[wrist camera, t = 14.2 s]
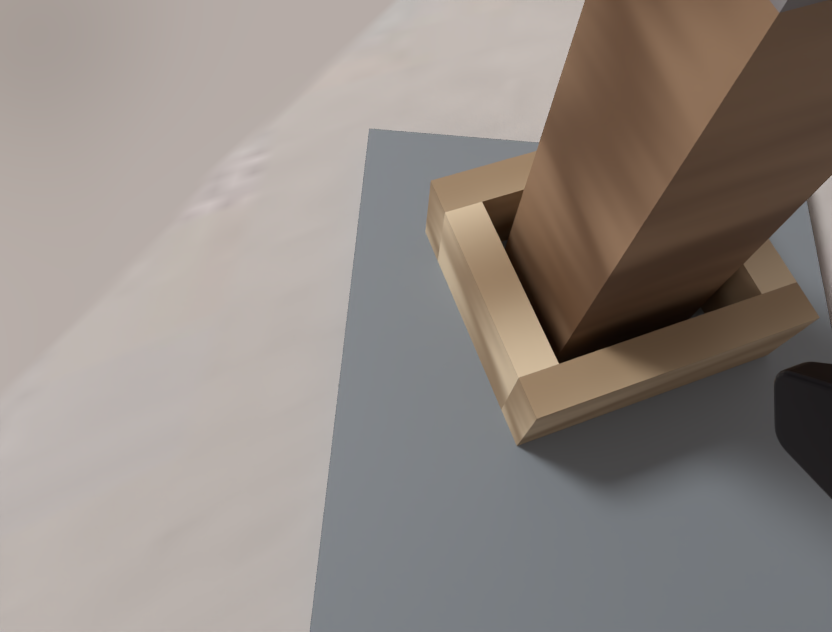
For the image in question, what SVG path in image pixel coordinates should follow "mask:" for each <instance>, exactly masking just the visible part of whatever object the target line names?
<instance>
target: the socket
mask: <svg viewBox="0 0 832 632" xmlns="http://www.w3.org/2000/svg"><path fill="white" fill-rule="evenodd" d="M535 154H536V151H534V152H531V153H527V154H524V155H520V156H516V157H513V158H509V159H506V160H502V161H499V162H495V163H492V164H488V165H485V166H481V167H477V168H474V169H470V170H467V171H463V172H460V173H456V174H453V175H449V176H445V177H442V178H438V179H435V180H431V183H430V193H429V202H428V211H427V220H426V230H425V232H426V235H427V237H428V239H429V242H430V244H431V246H432V249H433V251H434V253H435V256H436V258H437V260H438V263H439V265H440V267H441V270H442V272H443V274H444V277H445V279H446V281H447V284H448V286H449V289H450V291H451V293H452V296H453V298H454V300H455V303H456V305H457V307H458V310H459V312H460V314H461V317H462V319H463V321H464V324H465V326H466V328H467V331H468V333H469V335H470V338H471V340H472V342H473V345H474V347H475V349H476V352H477V354H478V356H479V359H480V361H481V363H482V366H483V368H484V370H485V373H486V375H487V377H488V380H489V382H490V384H491V387H492V389H493V392H494V394H495V396H496V399H497V401H498V403H499V406H500V408H501V410H502V413H503V415H504V417H505V420H506V422H507V424H508V427H509V429H510V431H511V434H512V436H513V438H514V441H515V443H516V445H517V446H518V445H521V444H524V443H526V442H529V441H532V440H535V439H537V438H540V437H543V436H546V435H549V434H551V433H554V432H557V431H560V430H562V429H565V428H568V427H571V426H573V425H576V424H579V423H582V422H584V421H587V420H590V419H593V418H595V417H598V416H601V415H604V414H606V413H609V412H612V411H615V410H617V409H620V408H623V407H626V406H628V405H631V404H634V403H637V402H639V401H642V400H645V399H648V398H650V397H653V396H656V395H659V394H661V393H664V392H667V391H670V390H672V389H675V388H678V387H681V386H683V385H686V384H689V383H692V382H694V381H697V380H700V379H703V378H706V377H708V376H711V375H714V374H717V373H719V372H722V371H725V370H728V369H730V368H733V367H736V366H739V365H741V364H744V363H747V362H750V361H752V360H755V359H758V358H761V357H763V356H766V355H768V354H769V353H771V352H772V351H774V350H775V349H776V348H778V347H779V346H781V345H782V344H783V343H785V342H786V341H788V340H789V339H790V338H792V337H793V336H795V335H796V334H798V333H799V332H800V331H802V330H803V329H805V328H806V327H807V326H809V325H810V324H812V323H813V322H814V321H816V320H817V319H819V318H820V317H819V315H818V314H817V312H816V311H815V309H814V308H813V306H812V305H811V303H810V302H809V300H808V298H807V297H806V295H805V294H804V292H803V291H802V289H801V288H800V286H799V285H798V283H797V281H796V280H795V278H794V277H793V275H792V274H791V272H790V271H789V269H788V268H787V266H786V264H785V263H784V261H783V260H782V258H781V257H780V255H779V254H778V252H777V251H776V249H775V247H774V246H773V244H772V243H771V241H770V240H769V239H768V240H767V241H766V242H765V243H764V244H763V245H762V246H761V247H760V248H759V249H758V250H757V251H756V252H755V253H754V254H753V255H752V256H751V257H750V258H749V259H748V260H747V261H746V262H745V263H744V264H743V265H742V266H741V267H740V268H739V269H738V270H737V271H736V272H735V273H734V274H733V275H732V276H731V277H730V278H729V279H728V280H727V281H726V282H725V283H724V284H723V285H722V286H721V287H720V288H719V289H718V290H717V291H716V292H715V293H714V294H713V295H712V296H711V297H710V298H709V299H708V300H707V301H706V302H705V303H704V304H703V305H702V306H701V308H702V310H703V312H704V313H705V314H703V315H700V316H697V317H694V318H691V319H688V320H685V321H682V322H679V323H676V324H674V325H671V326H668V327H665V328H662V329H659V330H656V331H653V332H650V333H647V334H644V335H642V336H639V337H636V338H633V339H630V340H627V341H624V342H621V343H618V344H615V345H612V346H610V347H607V348H604V349H601V350H598V351H595V352H592V353H589V354H586V355H583V356H581V357H578V358H575V359H572V360H569V361H566V362H563V363H560V364H559V363H558V361H557V359H556V357H555V355H554V353H553V350H552V348H551V346H550V344H549V342H548V340H547V338H546V336H545V334H544V331H543V329H542V327H541V325H540V323H539V321H538V319H537V317H536V315H535V312H534V310H533V308H532V306H531V304H530V302H529V300H528V298H527V295H526V293H525V291H524V289H523V287H522V285H521V283H520V281H519V279H518V276H517V274H516V272H515V270H514V268H513V266H512V264H511V262H510V260H509V257H508V255H507V253H506V251H505V249H504V247H503V245H502V243H501V241H505V240H508V238H509V235H510V232H511V229H512V225H513V222H514V219H515V216H516V213H517V210H518V207H519V204H520V201H521V198H522V194H523V191H524V188H525V185H526V182H527V179H528V176H529V173H530V170H531V167H532V164H533V160H534V157H535Z"/></svg>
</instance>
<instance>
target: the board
mask: <svg viewBox="0 0 832 632" xmlns="http://www.w3.org/2000/svg"><path fill="white" fill-rule="evenodd" d="M538 145H539V143H538V142H525V141H513V140H501V139H489V138H477V137H465V136H453V135H441V134H429V133H416V132H404V131H392V130H380V129H369V135H368V143H367V152H366V160H365V169H364V177H363V186H362V194H361V203H360V211H359V219H358V228H357V236H356V245H355V253H354V262H353V270H352V279H351V287H350V296H349V304H348V312H347V321H346V329H345V338H344V346H343V355H342V363H341V372H340V380H339V389H338V397H337V405H336V414H335V422H334V431H333V439H332V448H331V456H330V465H329V473H328V481H327V490H326V498H325V507H324V515H323V524H322V532H321V541H320V549H319V558H318V566H317V574H316V583H315V591H314V600H313V608H312V617H311V625H310V632H832V499H831V498H830V497H829V496H828V495H827V494H826V493H825V492H824V491H823V490H822V489H821V488H820V487H819V486H818V485H817V484H816V482H815V481H814V480H813V479H812V478H811V477H810V476H809V475H808V474H807V473H806V472H805V471H804V470H803V469H802V468H801V467H800V466H799V465H798V464H797V463H796V461H795V460H794V459H793V458H792V457H791V456H790V455H789V454H788V453H787V452H786V451H785V450H784V449H783V447H782V446H781V444H780V443H779V441H778V439H777V436H776V433H775V427H774V380H775V377H776V375H777V374H778V373H779V372H780V371H782V370H784V369H787V368H790V367H792V366H795V365H798V364H801V363H803V362H809V361H813V362H822V363H830V364H832V328H831V323H830V318H829V313H828V308H827V302H826V297H825V292H824V287H823V282H822V277H821V272H820V267H819V261H818V256H817V251H816V246H815V241H814V236H813V231H812V226H811V220H810V215H809V210H808V205H807V200H806V201H805V202H804V203H803V204H802V205H801V206H800V207H799V208H798V209H797V210H796V211H795V212H794V213H793V214H792V216H791V217H790V218H789V219H788V220H787V221H786V222H785V223H784V224H783V225H782V226H781V227H780V228H779V229H778V230H777V231H776V232H775V233H774V234H773V235H772V236H771V237H770V238H769V240H770V241H771V243H772V244H773V246H774V247H775V249H776V251H777V252H778V254H779V255H780V257H781V258H782V260H783V261H784V263H785V264H786V266H787V268H788V269H789V271H790V272H791V274H792V275H793V277H794V278H795V280H796V281H797V283H798V285H799V286H800V288H801V289H802V291H803V292H804V294H805V295H806V297H807V298H808V300H809V302H810V303H811V305H812V306H813V308H814V309H815V311H816V312H817V314H818V315H819V317H820V318H819V319H817V320H816V321H814V322H813V323H812V324H810V325H809V326H807V327H806V328H805V329H803V330H802V331H800V332H799V333H798V334H796V335H795V336H793V337H792V338H790V339H789V340H788V341H786V342H785V343H783V344H782V345H781V346H779V347H778V348H776V349H775V350H774V351H772V352H771V353H769V354H768V355H766V356H763V357H761V358H758V359H755V360H752V361H750V362H747V363H744V364H741V365H739V366H736V367H733V368H730V369H728V370H725V371H722V372H719V373H717V374H714V375H711V376H708V377H706V378H703V379H700V380H697V381H694V382H692V383H689V384H686V385H683V386H681V387H678V388H675V389H672V390H670V391H667V392H664V393H661V394H659V395H656V396H653V397H650V398H648V399H645V400H642V401H639V402H637V403H634V404H631V405H628V406H626V407H623V408H620V409H617V410H615V411H612V412H609V413H606V414H604V415H601V416H598V417H595V418H593V419H590V420H587V421H584V422H582V423H579V424H576V425H573V426H571V427H568V428H565V429H562V430H560V431H557V432H554V433H551V434H549V435H546V436H543V437H540V438H537V439H535V440H532V441H529V442H526V443H524V444H521V445H518V446H517V445H516V443H515V441H514V438H513V436H512V434H511V431H510V429H509V427H508V424H507V422H506V420H505V417H504V415H503V413H502V410H501V408H500V406H499V403H498V401H497V399H496V396H495V394H494V392H493V389H492V387H491V384H490V382H489V380H488V377H487V375H486V373H485V370H484V368H483V366H482V363H481V361H480V359H479V356H478V354H477V352H476V349H475V347H474V345H473V342H472V340H471V338H470V335H469V333H468V331H467V328H466V326H465V324H464V321H463V319H462V317H461V314H460V312H459V310H458V307H457V305H456V303H455V300H454V298H453V296H452V293H451V291H450V289H449V286H448V284H447V281H446V279H445V277H444V274H443V272H442V270H441V267H440V265H439V263H438V260H437V258H436V256H435V253H434V251H433V249H432V246H431V244H430V242H429V239H428V237H427V235H426V232H425V230H426V220H427V211H428V202H429V193H430V183H431V180H435V179H438V178H442V177H445V176H449V175H453V174H456V173H460V172H463V171H467V170H470V169H474V168H477V167H481V166H485V165H488V164H492V163H495V162H499V161H502V160H506V159H509V158H513V157H516V156H520V155H524V154H527V153H531V152H534V151H537V148H538ZM507 241H508V240H505V241H501V243H502V245H503V247H504V249H505V247H506V244H507ZM703 314H705V313H704V312H703V310H702V308H701V307H700V308H699V309H698V310H697V311H696V312H695V313H694V314H693V315H692V316H691V317H690V318H689V319H691V318H694V317H697V316H700V315H703Z"/></svg>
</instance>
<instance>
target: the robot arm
mask: <svg viewBox="0 0 832 632" xmlns="http://www.w3.org/2000/svg"><path fill="white" fill-rule="evenodd" d="M774 427H775V433H776V436H777V439H778V441H779V443H780V444H781V446H782V447H783V449H784V450H785V451H786V452H787V453H788V454H789V455H790V456H791V457H792V458H793V459H794V460H795V461H796V463H797V464H798V465H799V466H800V467H801V468H802V469H803V470H804V471H805V472H806V473H807V474H808V475H809V476H810V477H811V478H812V479H813V480H814V481H815V482H816V484H817V485H818V486H819V487H820V488H821V489H822V490H823V491H824V492H825V493H826V494H827V495H828V496H829V497H830V498H831V499H832V364H830V363H822V362H813V361H809V362H803V363H801V364H798V365H795V366H792V367H790V368H787V369H784V370H782V371H780V372H779V373H778V374H777V375H776V377H775V380H774Z"/></svg>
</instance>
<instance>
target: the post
mask: <svg viewBox="0 0 832 632" xmlns="http://www.w3.org/2000/svg"><path fill="white" fill-rule="evenodd" d="M831 175H832V0H585V3H584V6H583V9H582V12H581V15H580V18H579V21H578V24H577V27H576V30H575V33H574V37H573V40H572V43H571V46H570V49H569V52H568V55H567V58H566V61H565V64H564V68H563V71H562V74H561V77H560V80H559V83H558V86H557V89H556V92H555V95H554V99H553V102H552V105H551V108H550V111H549V114H548V117H547V120H546V123H545V126H544V129H543V133H542V136H541V139H540V142H539V145H538V148H537V151H536V154H535V157H534V160H533V164H532V167H531V170H530V173H529V176H528V179H527V182H526V185H525V188H524V191H523V194H522V198H521V201H520V204H519V207H518V210H517V213H516V216H515V219H514V222H513V225H512V229H511V232H510V235H509V238H508V241H507V244H506V247H505V251H506V253H507V255H508V257H509V260H510V262H511V264H512V266H513V268H514V270H515V272H516V274H517V276H518V279H519V281H520V283H521V285H522V287H523V289H524V291H525V293H526V295H527V298H528V300H529V302H530V304H531V306H532V308H533V310H534V312H535V315H536V317H537V319H538V321H539V323H540V325H541V327H542V329H543V331H544V334H545V336H546V338H547V340H548V342H549V344H550V346H551V348H552V350H553V353H554V355H555V357H556V359H557V361H558V363H559V364H560V363H563V362H566V361H569V360H572V359H575V358H578V357H581V356H583V355H586V354H589V353H592V352H595V351H598V350H601V349H604V348H607V347H610V346H612V345H615V344H618V343H621V342H624V341H627V340H630V339H633V338H636V337H639V336H642V335H644V334H647V333H650V332H653V331H656V330H659V329H662V328H665V327H668V326H671V325H674V324H676V323H679V322H682V321H685V320H688V319H689V318H690V317H691V316H692V315H693V314H694V313H695V312H696V311H697V310H698V309H699V308H700V307H701V306H702V305H703V304H704V303H705V302H706V301H707V300H708V299H709V298H710V297H711V296H712V295H713V294H714V293H715V292H716V291H717V290H718V289H719V288H720V287H721V286H722V285H723V284H724V283H725V282H726V281H727V280H728V279H729V278H730V277H731V276H732V275H733V274H734V273H735V272H736V271H737V270H738V269H739V268H740V267H741V266H742V265H743V264H744V263H745V262H746V261H747V260H748V259H749V258H750V257H751V256H752V255H753V254H754V253H755V252H756V251H757V250H758V249H759V248H760V247H761V246H762V245H763V244H764V243H765V242H766V241H767V240H768V239H769V238H770V237H771V236H772V235H773V234H774V233H775V232H776V231H777V230H778V229H779V228H780V227H781V226H782V225H783V224H784V223H785V222H786V221H787V220H788V219H789V218H790V217H791V216H792V214H793V213H794V212H795V211H796V210H797V209H798V208H799V207H800V206H801V205H802V204H803V203H804V202H805V201H806V200H807V199H808V198H809V197H810V196H811V195H812V194H813V193H814V192H815V191H816V190H817V189H818V188H819V187H820V186H821V185H822V184H823V183H824V182H825V181H826V180H827V179H828V178H829V177H830V176H831Z"/></svg>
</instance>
